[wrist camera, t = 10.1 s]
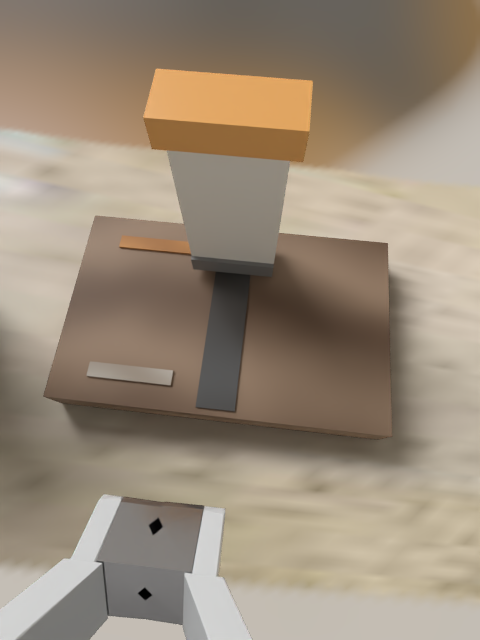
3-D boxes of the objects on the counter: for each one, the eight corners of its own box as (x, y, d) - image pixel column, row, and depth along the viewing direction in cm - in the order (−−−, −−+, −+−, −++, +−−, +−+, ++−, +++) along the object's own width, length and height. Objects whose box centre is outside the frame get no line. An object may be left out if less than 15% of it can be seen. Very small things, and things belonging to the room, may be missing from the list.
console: (377, 439, 19) (393, 436, 17) (61, 403, 20) (41, 396, 18) (375, 261, 23) (388, 241, 21) (106, 235, 24) (94, 214, 22)
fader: (279, 277, 20) (309, 131, 11) (185, 268, 20) (143, 117, 11) (282, 243, 20) (312, 80, 12) (191, 234, 21) (156, 68, 12)
